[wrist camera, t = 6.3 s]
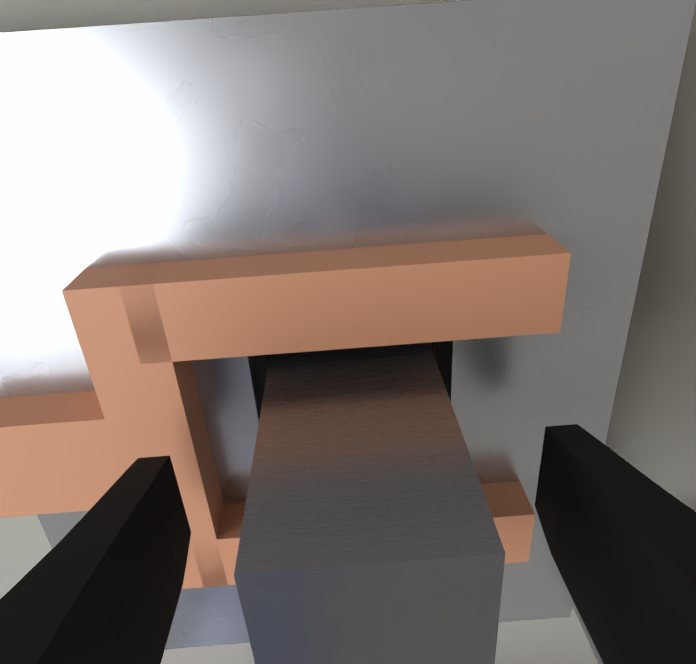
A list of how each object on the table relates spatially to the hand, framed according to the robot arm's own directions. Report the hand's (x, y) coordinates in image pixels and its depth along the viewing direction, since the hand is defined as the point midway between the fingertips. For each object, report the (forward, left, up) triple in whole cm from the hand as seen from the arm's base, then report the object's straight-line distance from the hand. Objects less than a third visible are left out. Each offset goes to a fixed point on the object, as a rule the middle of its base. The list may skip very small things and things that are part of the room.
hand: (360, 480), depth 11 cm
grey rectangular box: (0, 0, -5) cm, 5 cm away
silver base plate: (0, +1, -5) cm, 5 cm away
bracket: (0, +2, -2) cm, 3 cm away
